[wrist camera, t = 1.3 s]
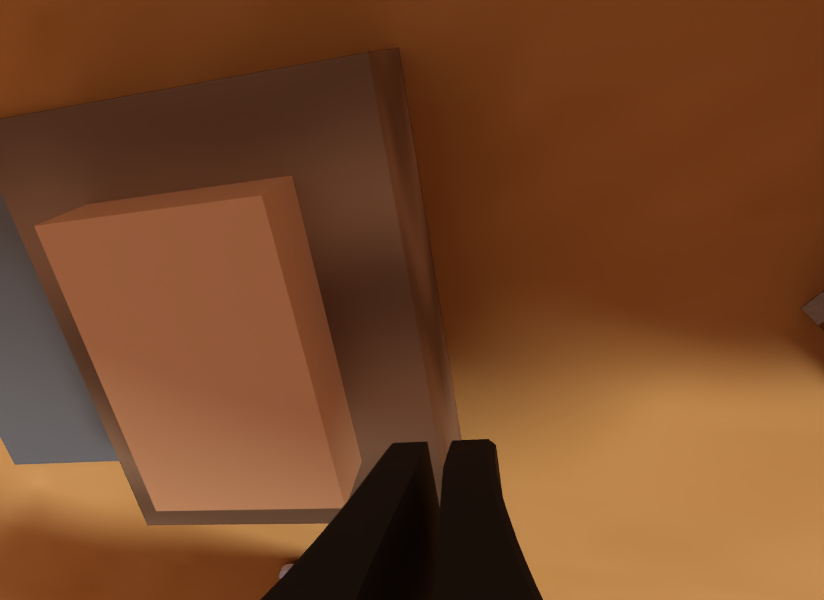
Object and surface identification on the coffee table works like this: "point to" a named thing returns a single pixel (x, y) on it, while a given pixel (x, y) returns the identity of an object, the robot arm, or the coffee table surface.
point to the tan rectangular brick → (211, 344)
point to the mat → (40, 370)
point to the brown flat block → (321, 212)
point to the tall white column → (816, 310)
